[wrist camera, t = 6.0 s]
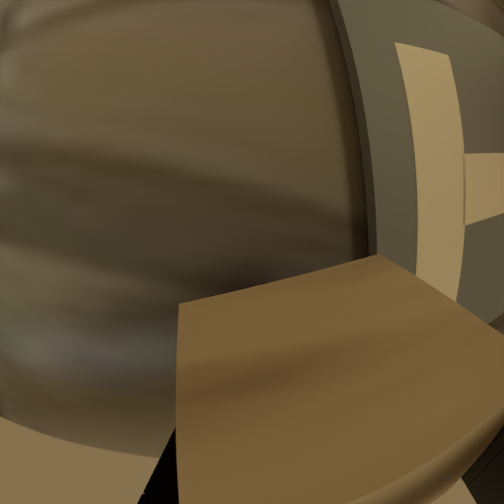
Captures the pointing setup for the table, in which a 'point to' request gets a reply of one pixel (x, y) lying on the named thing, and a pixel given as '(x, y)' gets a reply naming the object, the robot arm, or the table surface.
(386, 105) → the letter board
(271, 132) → the table surface
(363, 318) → the birch block
